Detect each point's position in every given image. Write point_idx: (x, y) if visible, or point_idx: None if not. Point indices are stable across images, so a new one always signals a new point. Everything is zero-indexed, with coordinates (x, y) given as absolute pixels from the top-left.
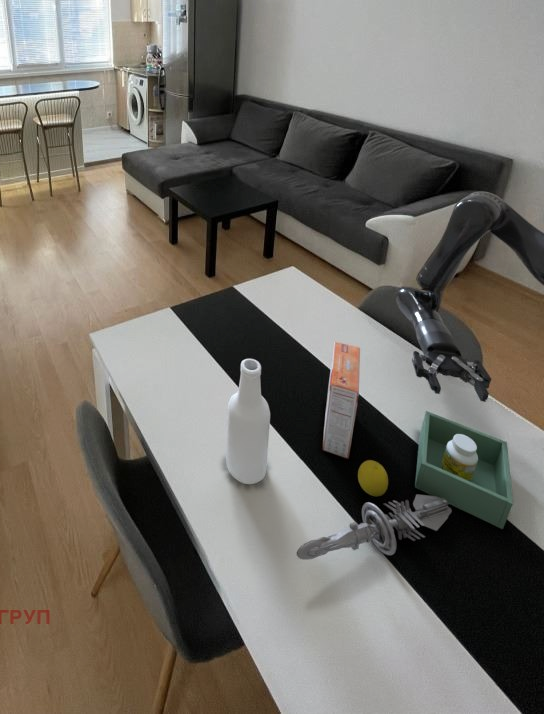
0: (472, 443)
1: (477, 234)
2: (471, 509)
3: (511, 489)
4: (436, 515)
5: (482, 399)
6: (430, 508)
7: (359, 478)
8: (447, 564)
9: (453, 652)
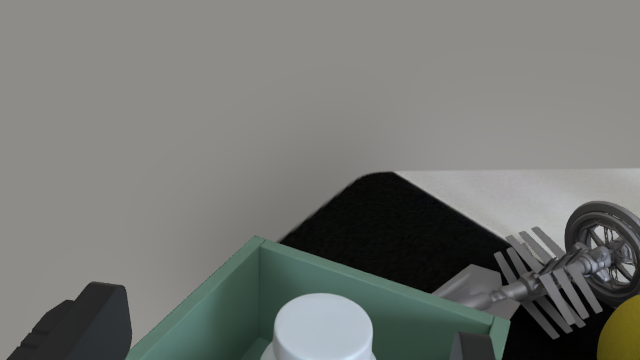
0: (289, 322)
1: None
2: None
3: (225, 262)
4: None
5: (128, 319)
6: (471, 295)
7: None
8: (433, 272)
9: (458, 196)
